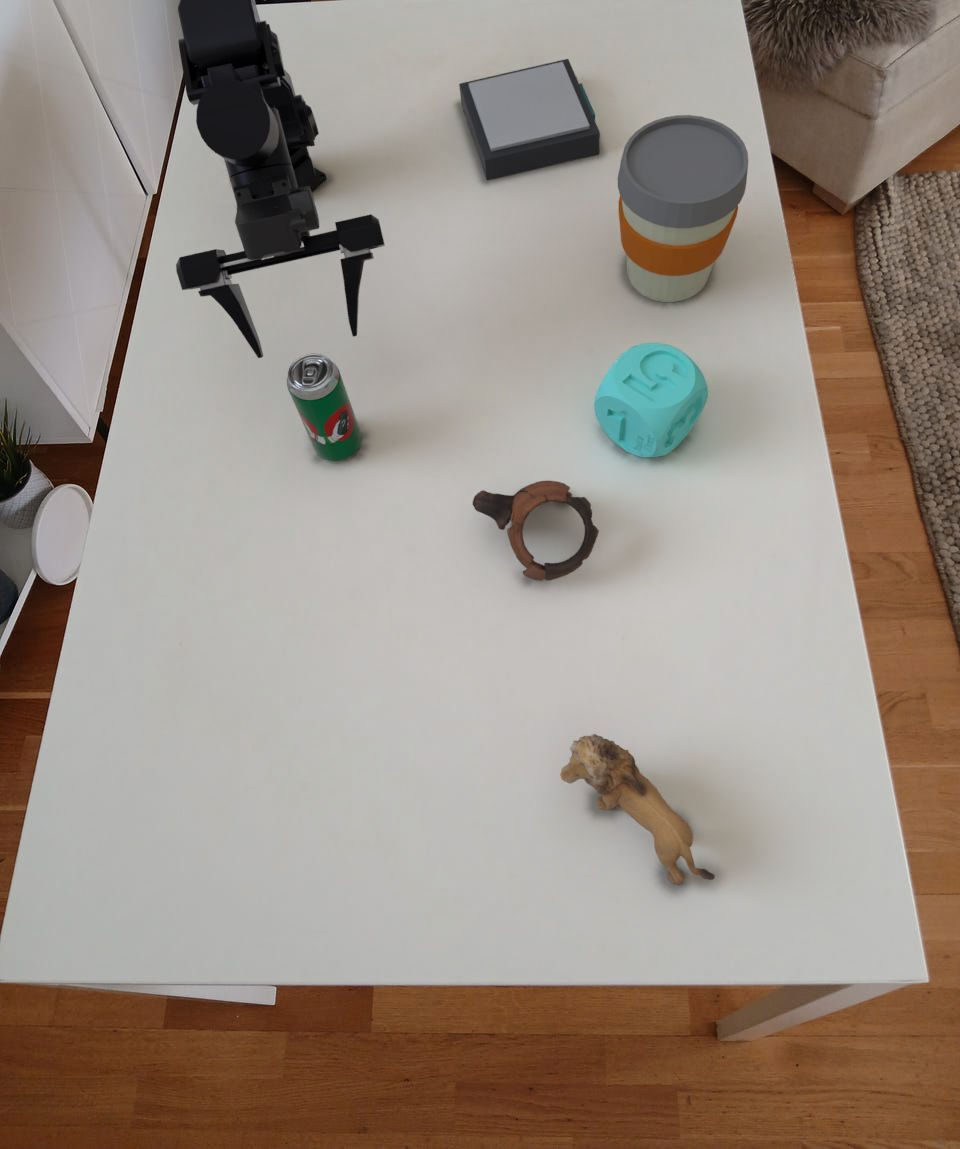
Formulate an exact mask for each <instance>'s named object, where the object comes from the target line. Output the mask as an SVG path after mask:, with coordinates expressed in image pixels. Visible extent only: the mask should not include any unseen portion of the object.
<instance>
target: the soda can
mask: <svg viewBox="0 0 960 1149" xmlns="http://www.w3.org/2000/svg"><path fill="white" fill-rule="evenodd" d="M286 387H287V390H288V392H289V395H290V397H291V399H292V401H293V403H294V406H295V408H296V410H297V412H298V415H299V417H300V420H301V422H302V424H303V426H304V428H305V431H306V433H307V435H308V438H309V440H310V442H311V444H312V447H313V450H314V451H315V453H316V454H317V455H318V457H319V458H321V459H323V460H324V461H328V462H342V461H344V460H347V459H349V458H351V457H352V456H354V455H355V454H356V453H357V452H358V451H359V449H360V447H361V444H362V437H363V436H362V432H361V429H360V427H359V423H358V420H357V418H356V415H355V412H354V409H353V406H352V402H351V401H350V398H349V395H348V391H347V389H346V386H345V383H344V381H343V378H342V374H341V372H340V369H339V367H338V366H337V365H336V363H335V362H334V361H332V360H331V359H330V358H328V357H327V356H325V355H323V354H321V353H307V354H304V355H301V356H299V357H298V358H296V359H294V361H293V362H292V363H291V364H290V366H289V368H288V371H287V377H286Z"/></svg>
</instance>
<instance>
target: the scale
mask: <svg viewBox="0 0 960 1149" xmlns="http://www.w3.org/2000/svg"><path fill="white" fill-rule="evenodd" d="M458 86H459V94H460V96H459V97H460V104H461V107H462V111H463V113H464V117H465V119H466V122H467V126H468V128H469V132H470V134H471V138H472V141H473V143H474V147H475V150H476V153H477V156H478V159H479V162H480V164H481V167H482V171H483V173H484V177H485V180H486V181H490V180H494V179H498V178H503V177H507V176H511V175H516V174H520V173H523V172H524V173H525V172H527V171H532V170H537V169H541V168H545V167H549V166H553V165H558V164H562V163H567V162H570V161H576V160H579V159H580V160H581V159H584V158H588V157H593V156H597V155H600V144H601V143H600V140H601V139H600V138H601V132H600V130H599V127H598V124H597V123H596V113H595V111H594V108H593V107H592V104H591V101H590V99H589V97H588V95H587V92H586V90H585V88H584V85H583V83H582V82H581V83H579V80H578V78H577V76H576V73H575V71H574V68H573V66H572V65H571V62H570V59H569V58H565V59H561V60H556V61H552V62H548V63H543V64H539V65H535V66H530V67H526V68H522V69H516V70H512V71H508V72H505V73H499V74H495V75H491V76H487V77H483V78H478V79H473V80H469V81H465V82H461V83H459V84H458Z"/></svg>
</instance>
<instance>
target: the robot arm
mask: <svg viewBox="0 0 960 1149" xmlns="http://www.w3.org/2000/svg"><path fill="white" fill-rule="evenodd" d="M177 12H178V18H179V21H180V27H181V31H182V36H183V38H179V39H178V41H177V42H178V49H179V55H180V61H181V65H182V66H181V68H182V73H183V74H182V75H183V80H184V85H185V90H186V91H185V92H186V96H187V100H188V101H189V102H190V104H192V105H193V106H196V105H197V107H196V117H195V118H196V119H195V122H196V127H197V130H198V133H199V135H200V137H201V139H202V140H203V142H204V143H205V144H206V146H207V147H208V148H209V149H210V150H211V151H212V152H214V153H215V154H216V155H218V156H219V157H221V158H223V161H224V164H225V168H226V171H227V174H228V178H229V182H230V185H231V189H232V193H233V196H234V199H235V203H236V211H235V212H236V213H235V219H234V224H235V226H236V230H237V233H238V236H239V239H240V242H241V244H242V247H243V251H237V252H233V253H229V254H227V253H226V251H225V250H224V249H218V248H215V249H214V248H213V249H209V250H206V251H205V250H204V251H202V252H201V251H200V252H197V253H193V254H188V255H182V256H179V258H178V260H177V262H176V263H175V270H176V274H177V278H178V281H179V284H180V287H181V288H180V289H181V290H182V291H186V290H187V291H189V290H196V289H199V290H198V291H197V293H198V294H199V296H200V297H211V298H213V300H215V301H216V302H217V303H218V305H220V307H222V309H223V310H224V311H225V312H226V313H227V315H228V316H229V317H230V318H231V320H232V321H233V322H234V324H235V326H237V328H238V330H239V331H240V333H241V334H242V336H243V337H244V339H245V340H246V342H247V344H248V345H249V346H250V348H251V350H252V351H253V353H254V354H255V355H256V357H257V358H258V359H261V358H263V357H264V353H263V348H262V345H261V344H262V343H261V341H260V337H259V335H258V332H257V330H256V326H255V324H254V321H253V319H252V316H251V313H250V310H249V308H248V305H247V302H246V300H245V297H244V294H243V292H242V289H241V286H240V284H239V283H233V282H232V279H233V275H237V274H240V273H245V272H249V271H254V270H259V269H264V268H267V267H272V266H275V265H280V264H285V263H289V262H293V261H298V260H302V259H303V260H304V259H307V258H312V257H315V256H316V257H317V256H321V255H325V254H329V253H330V254H331V253H333V252H334V253H335V252H338V251H340V254H343V256H344V257H343V258H340V266H341V272H342V277H343V278H342V279H343V287H344V294H345V295H344V296H345V303H346V310H347V319H348V324H349V327H350V328H349V329H350V331H351V336H352V337H354V338H355V337H357V336H358V323H359V322H358V320H359V303H360V302H359V301H360V299H359V298H360V287H361V282H362V275H363V269H364V264H365V262H366V261H371V260H374V257H375V256H374V253H373V252H372V251H371V250H373V249H378V248H382V247H385V246H386V244H385V240H384V235H383V231H382V228H381V224H380V219H379V218H377V217H376V216H374V215H373V214H372V213H371V214H365V215H362V216H356V217H352V218H348V219H345V220H340V221H335V222H334V225H335V229H336V230H331V231H327V232H323V233H317V234H314V235H311V233H310V231H314V230H319V228H320V219H319V218H320V217H319V213H318V210H317V207H316V206H317V205H316V203H315V200H314V196H313V194H312V193H313V192H314V191H315V190H317V189H318V188H319V187H320V186H321V185H323V184H324V183H326V181H327V180H328V178H327V174H326V173H325V172H323V171H322V170H319V169H318V168H316V167H314V163H313V160H312V158H311V155H310V153H309V150H308V147H315V146H316V143H315V140H316V137H318V135H319V134H320V132H319V129H318V125H317V122H316V118H315V115H314V112H313V109H312V106H310V105H308V104H307V103H306V101H305V99H304V97H303V95H302V94H297V95H296V92H295V88H294V84H293V81H292V77H291V75H290V74H289V73H288V71H287V70H286V69H285V67H284V61H283V55H282V49H281V45H280V40H279V38H278V34H277V33H275V32H274V31H272V29H271V25H270V23H268V22H267V20H261V18H260V15H259V10H258V7H257V4H256V0H179V2H178V5H177ZM302 244H303V246H302Z"/></svg>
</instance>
